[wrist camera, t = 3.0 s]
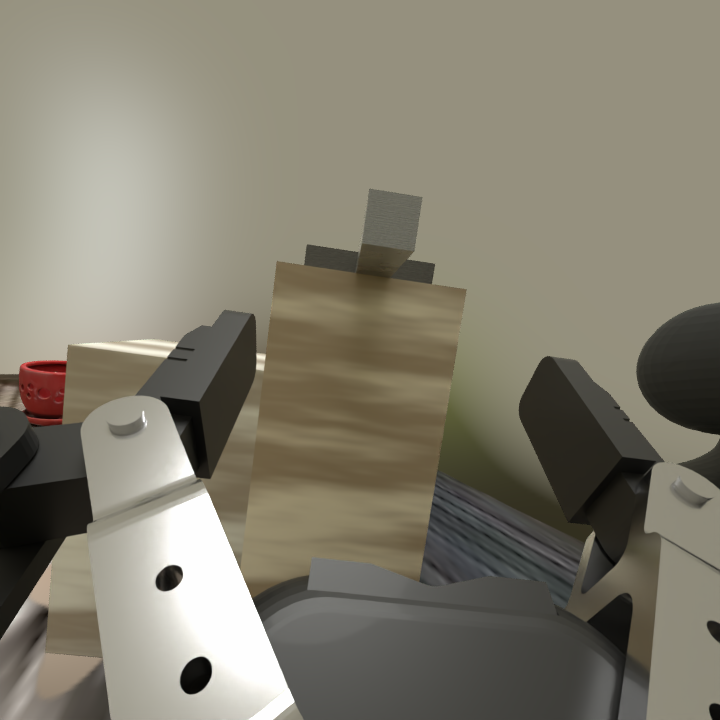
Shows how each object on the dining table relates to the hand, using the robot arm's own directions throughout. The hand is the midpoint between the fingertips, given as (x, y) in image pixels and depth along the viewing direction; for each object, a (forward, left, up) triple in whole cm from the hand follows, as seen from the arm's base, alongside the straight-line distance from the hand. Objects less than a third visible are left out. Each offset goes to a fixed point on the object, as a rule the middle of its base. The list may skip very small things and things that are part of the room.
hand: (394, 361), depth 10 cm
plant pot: (+46, -77, -27) cm, 94 cm away
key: (-3, -18, +5) cm, 19 cm away
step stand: (+3, -24, -27) cm, 36 cm away
